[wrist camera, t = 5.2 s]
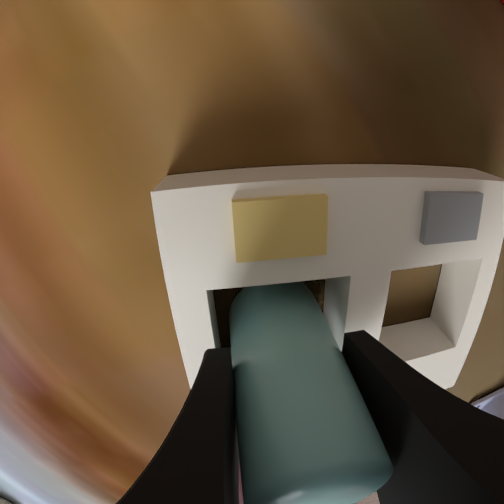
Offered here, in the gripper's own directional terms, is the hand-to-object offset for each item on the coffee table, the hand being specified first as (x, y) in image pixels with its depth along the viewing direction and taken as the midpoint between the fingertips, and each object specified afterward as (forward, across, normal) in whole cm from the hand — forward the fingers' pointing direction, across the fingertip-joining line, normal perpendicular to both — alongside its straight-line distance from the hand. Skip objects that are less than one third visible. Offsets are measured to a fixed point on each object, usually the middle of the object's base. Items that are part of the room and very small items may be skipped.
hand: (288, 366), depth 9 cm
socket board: (+4, -3, 0) cm, 5 cm away
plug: (+3, 0, 0) cm, 3 cm away
